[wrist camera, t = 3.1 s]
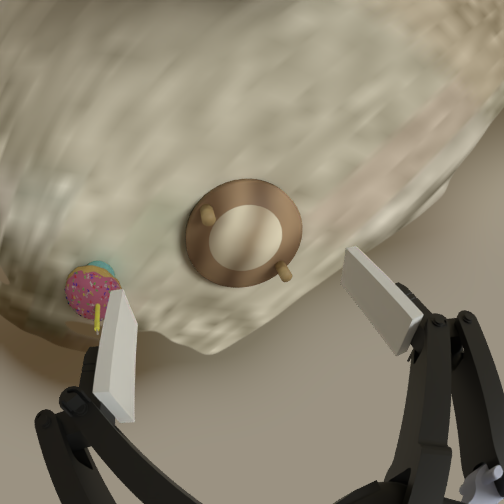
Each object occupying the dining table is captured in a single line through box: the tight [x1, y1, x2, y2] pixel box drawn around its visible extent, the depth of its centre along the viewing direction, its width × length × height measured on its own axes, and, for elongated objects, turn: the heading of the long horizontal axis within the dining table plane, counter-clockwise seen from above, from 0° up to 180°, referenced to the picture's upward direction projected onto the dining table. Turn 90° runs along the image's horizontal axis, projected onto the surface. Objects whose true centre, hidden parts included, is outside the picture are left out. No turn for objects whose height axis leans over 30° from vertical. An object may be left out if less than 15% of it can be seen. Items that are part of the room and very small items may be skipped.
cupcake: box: [65, 261, 122, 335], centre depth 32 cm, size 9×8×12 cm
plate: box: [186, 179, 302, 287], centre depth 37 cm, size 16×16×4 cm
